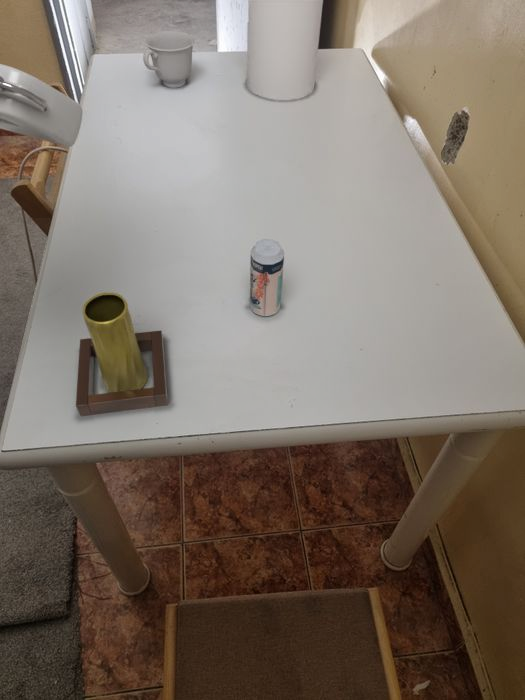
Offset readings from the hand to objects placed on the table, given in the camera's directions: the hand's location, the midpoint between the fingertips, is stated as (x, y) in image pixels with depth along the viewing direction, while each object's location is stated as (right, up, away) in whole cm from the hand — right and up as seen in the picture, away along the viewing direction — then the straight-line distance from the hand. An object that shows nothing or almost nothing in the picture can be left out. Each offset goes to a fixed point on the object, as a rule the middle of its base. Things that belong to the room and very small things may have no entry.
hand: (27, 125), depth 51 cm
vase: (+4, -26, +21) cm, 34 cm away
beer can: (+24, -16, +31) cm, 42 cm away
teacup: (0, +45, +80) cm, 92 cm away
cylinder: (+28, +46, +82) cm, 98 cm away
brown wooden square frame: (+4, -26, +21) cm, 34 cm away
